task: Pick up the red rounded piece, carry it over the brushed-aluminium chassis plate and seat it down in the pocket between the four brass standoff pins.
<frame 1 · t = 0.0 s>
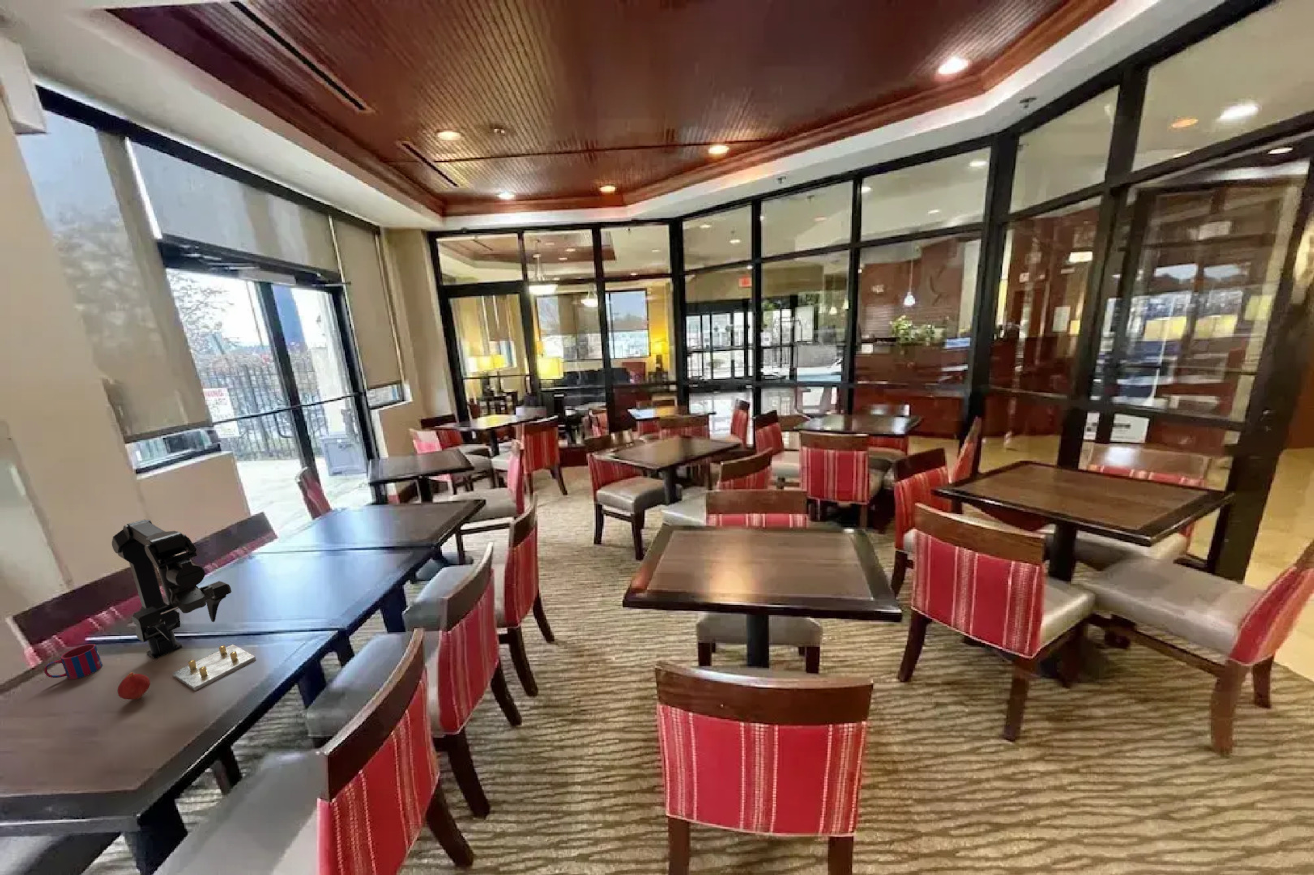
hand: (192, 630, 132), 15 cm above the table, fingers open, 9 cm apart
chassis: (215, 667, 139), on the table
mug: (77, 675, 139), on the table
red rounded piece: (138, 699, 128), on the table
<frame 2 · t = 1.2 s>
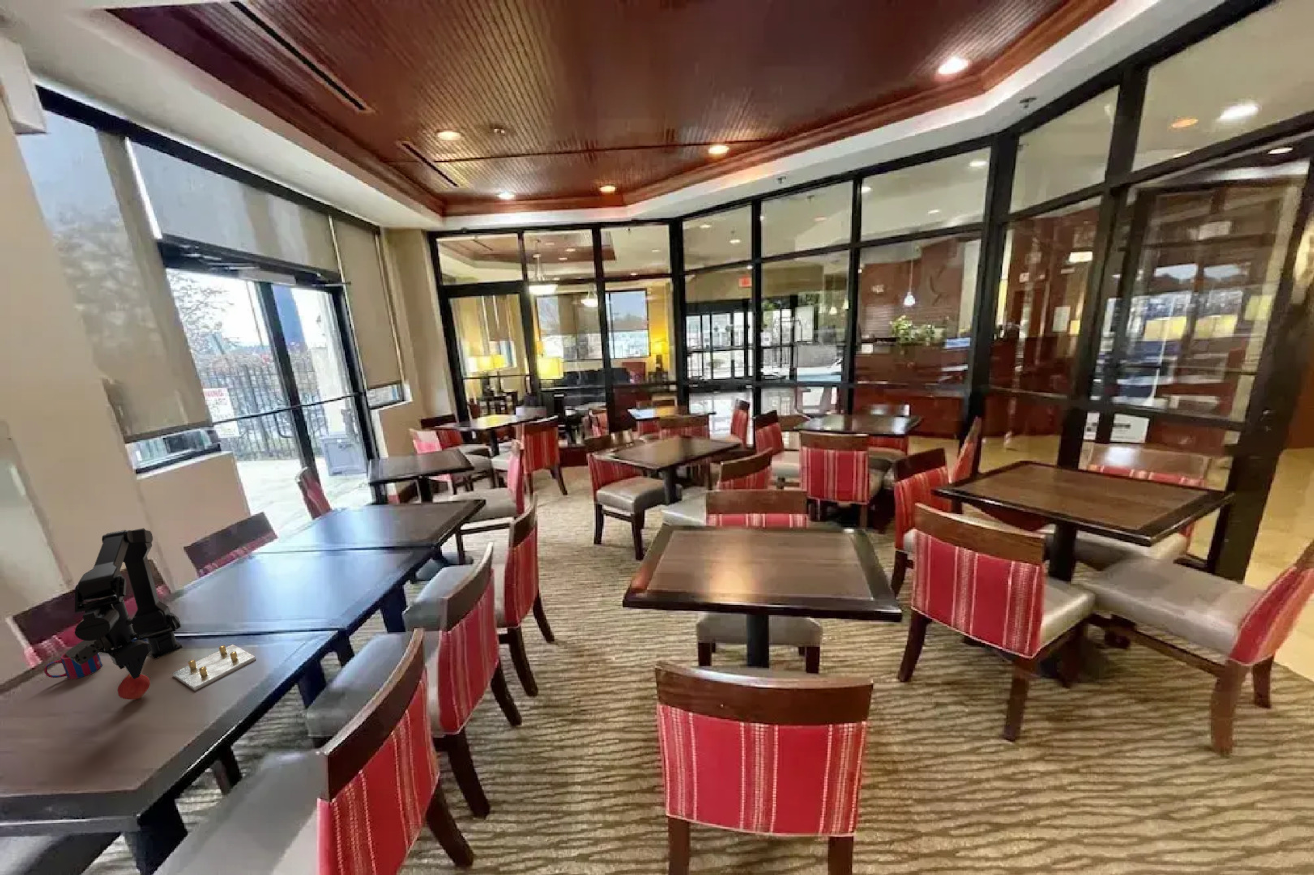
hand: (129, 672, 126), 8 cm above the table, fingers open, 9 cm apart
nothing on the table moved.
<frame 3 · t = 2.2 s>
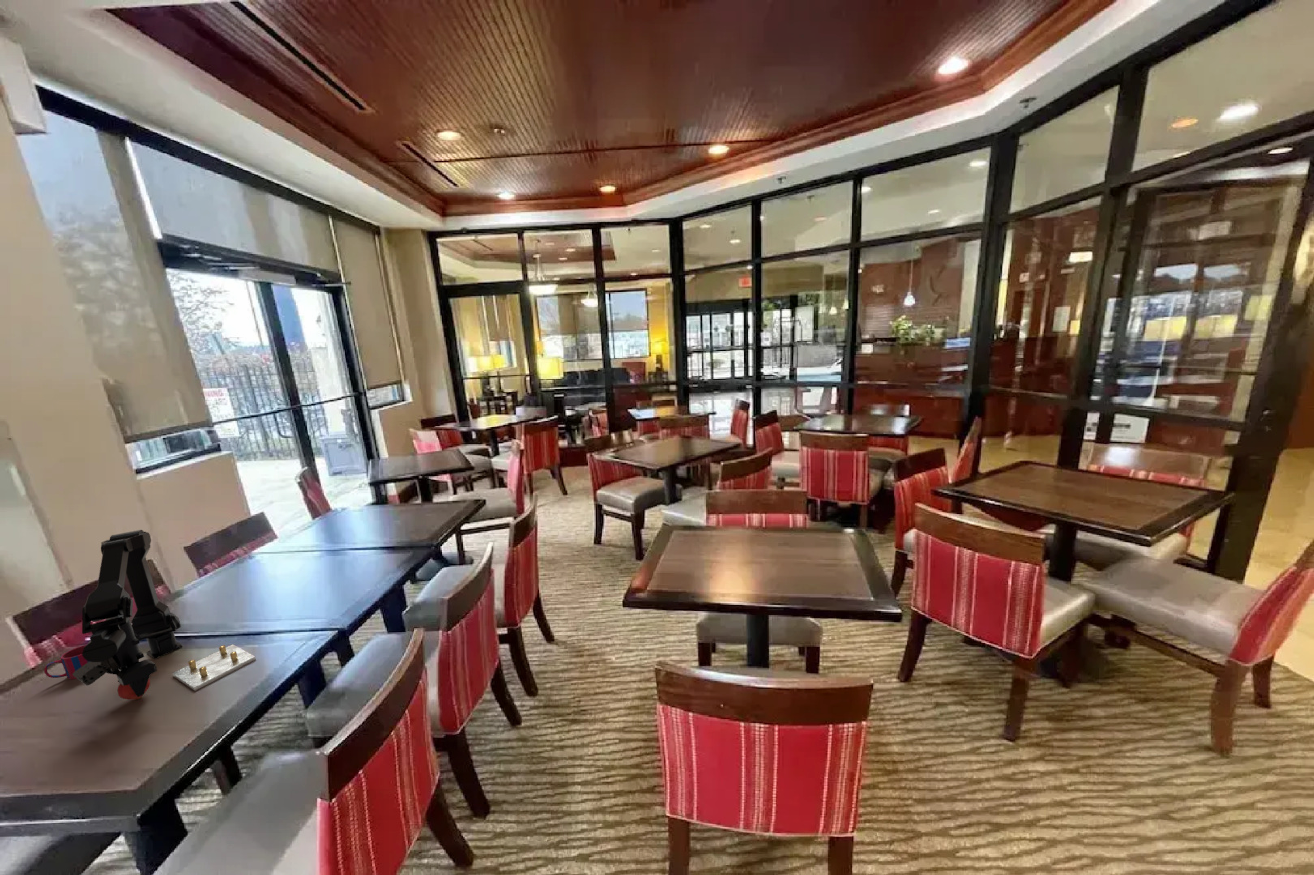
hand: (135, 692, 127), 2 cm above the table, fingers closed on red rounded piece, 6 cm apart
red rounded piece: (138, 699, 128), on the table, touching gripper
everything else where it was.
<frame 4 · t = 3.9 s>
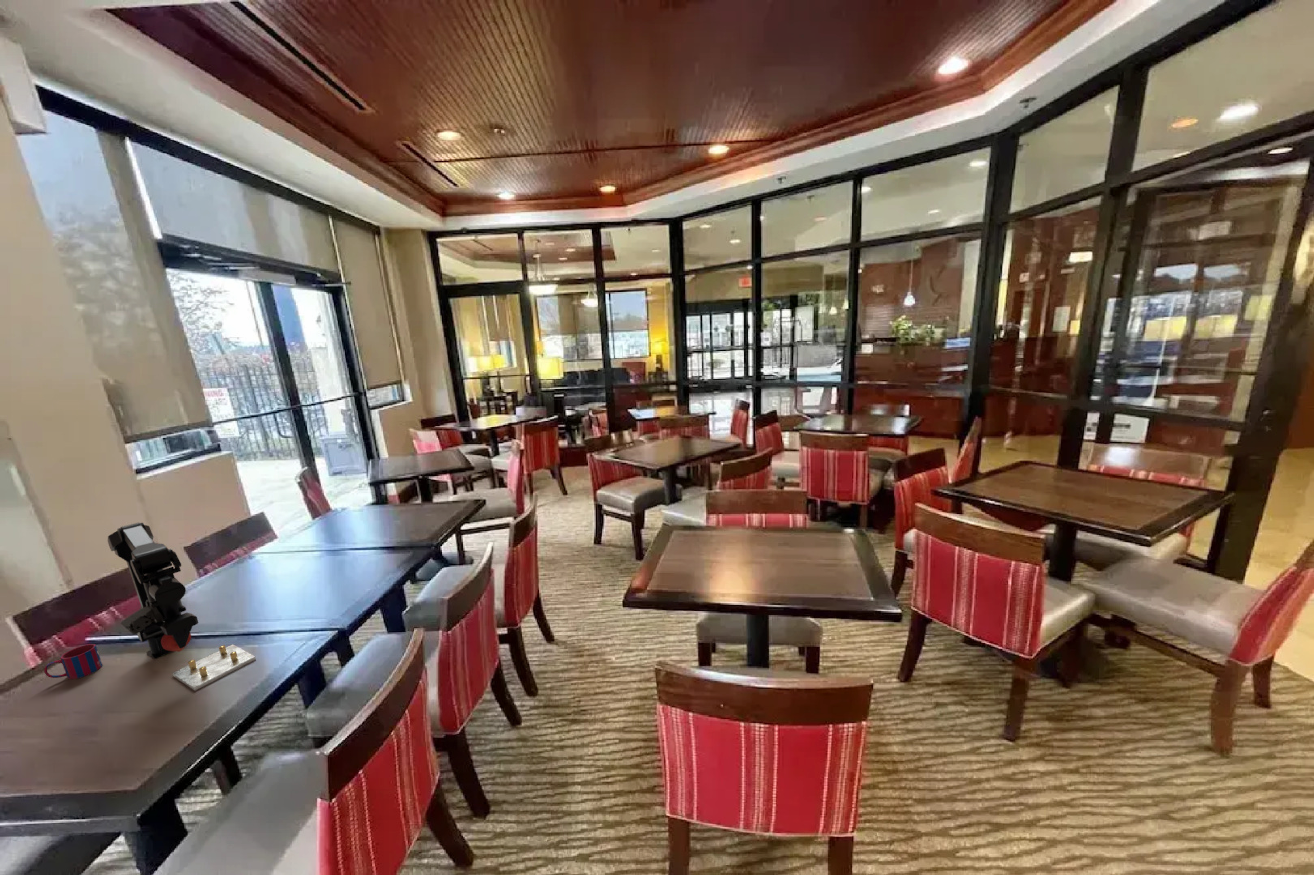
hand: (178, 644, 132), 11 cm above the table, fingers closed on red rounded piece, 6 cm apart
red rounded piece: (180, 651, 133), point 9 cm above the table, touching gripper
everything else where it was.
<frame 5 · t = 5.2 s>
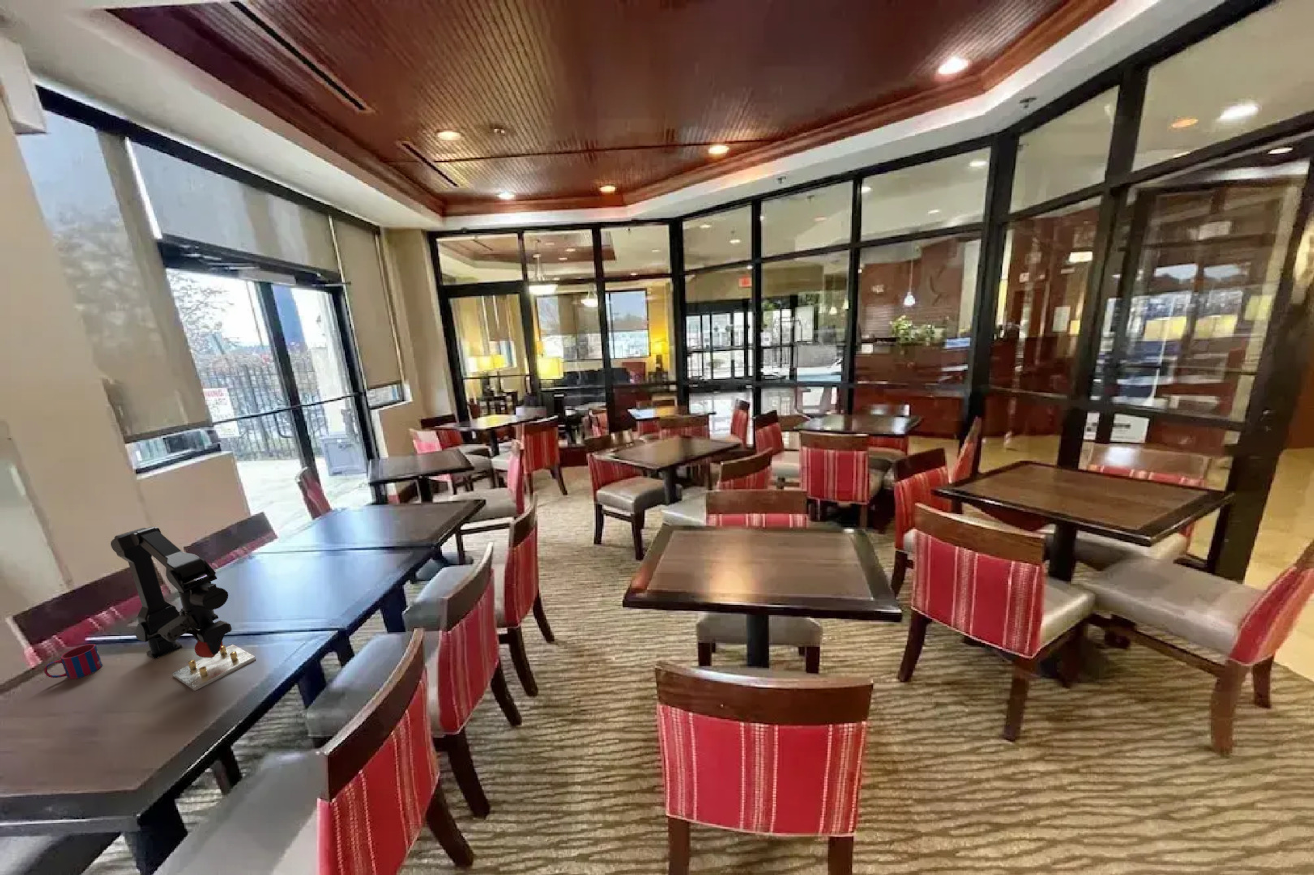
hand: (210, 651, 138), 5 cm above the table, fingers closed on red rounded piece, 6 cm apart
red rounded piece: (212, 658, 138), point 3 cm above the table, touching gripper
everything else where it was.
when the fingers open (4 cm above the table, at t = 5.9 s): red rounded piece drops 1 cm, resting on chassis.
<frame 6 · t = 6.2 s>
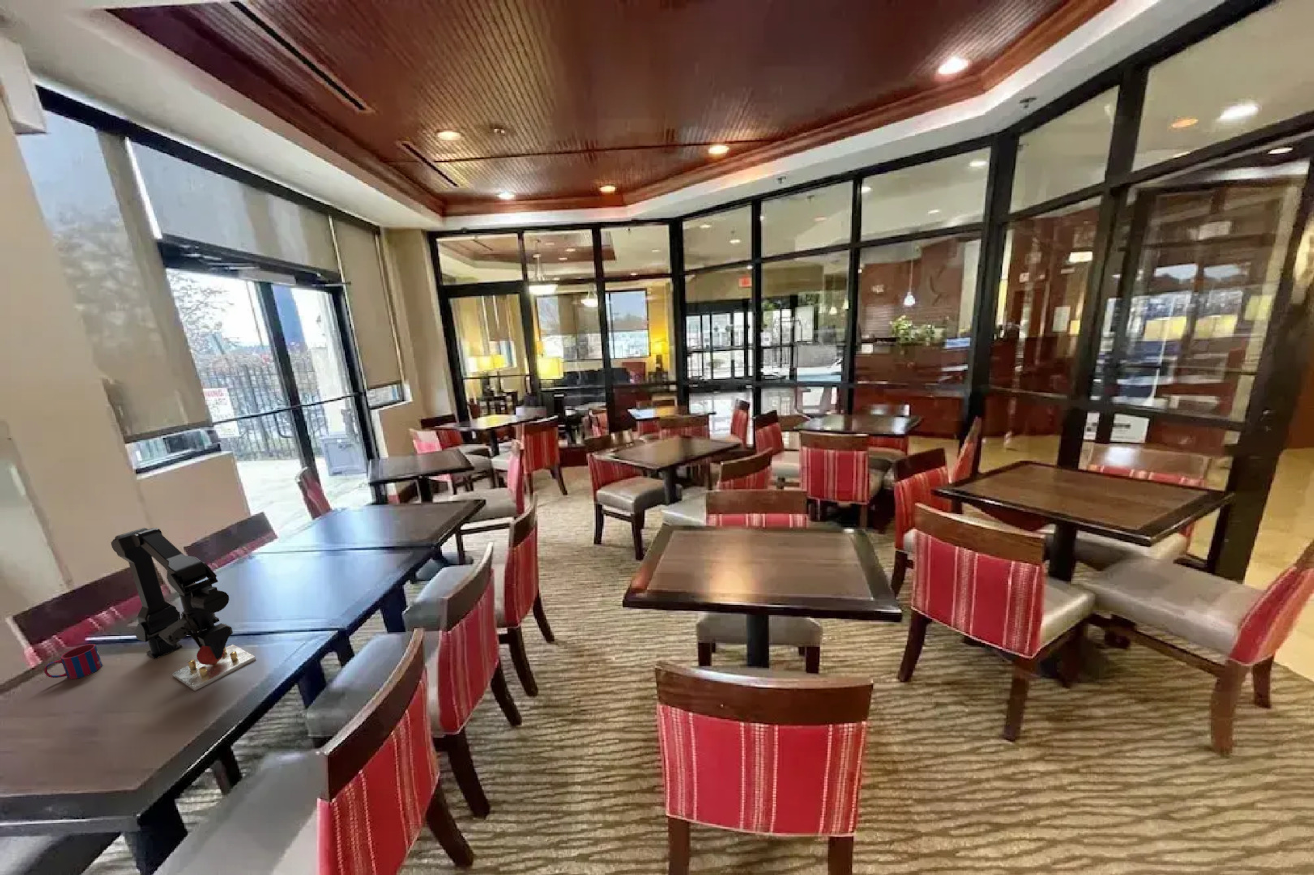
hand: (211, 654, 138), 4 cm above the table, fingers open, 9 cm apart
red rounded piece: (214, 665, 138), point 1 cm above the table, touching chassis
everything else where it was.
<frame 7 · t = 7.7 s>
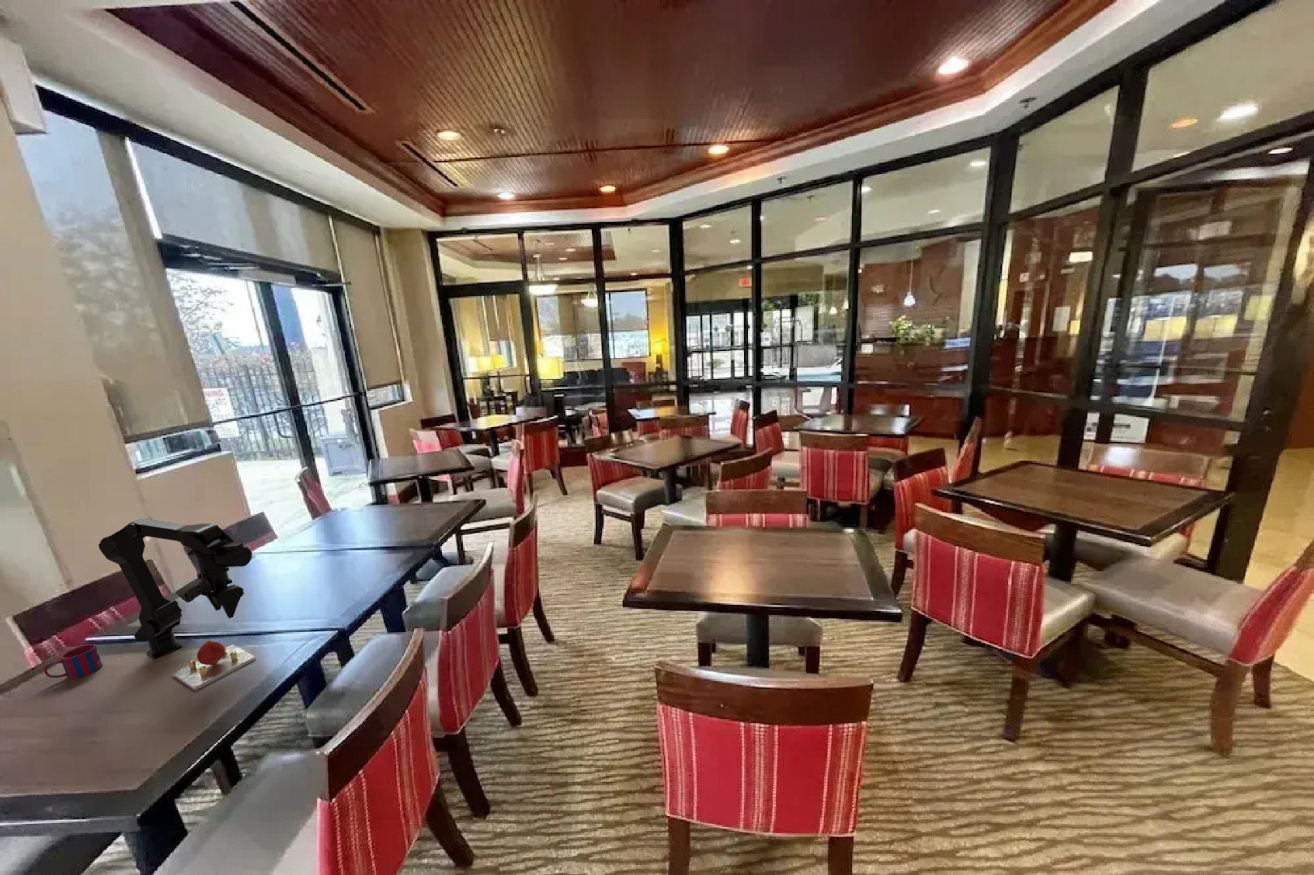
hand: (224, 613, 145), 12 cm above the table, fingers open, 9 cm apart
nothing on the table moved.
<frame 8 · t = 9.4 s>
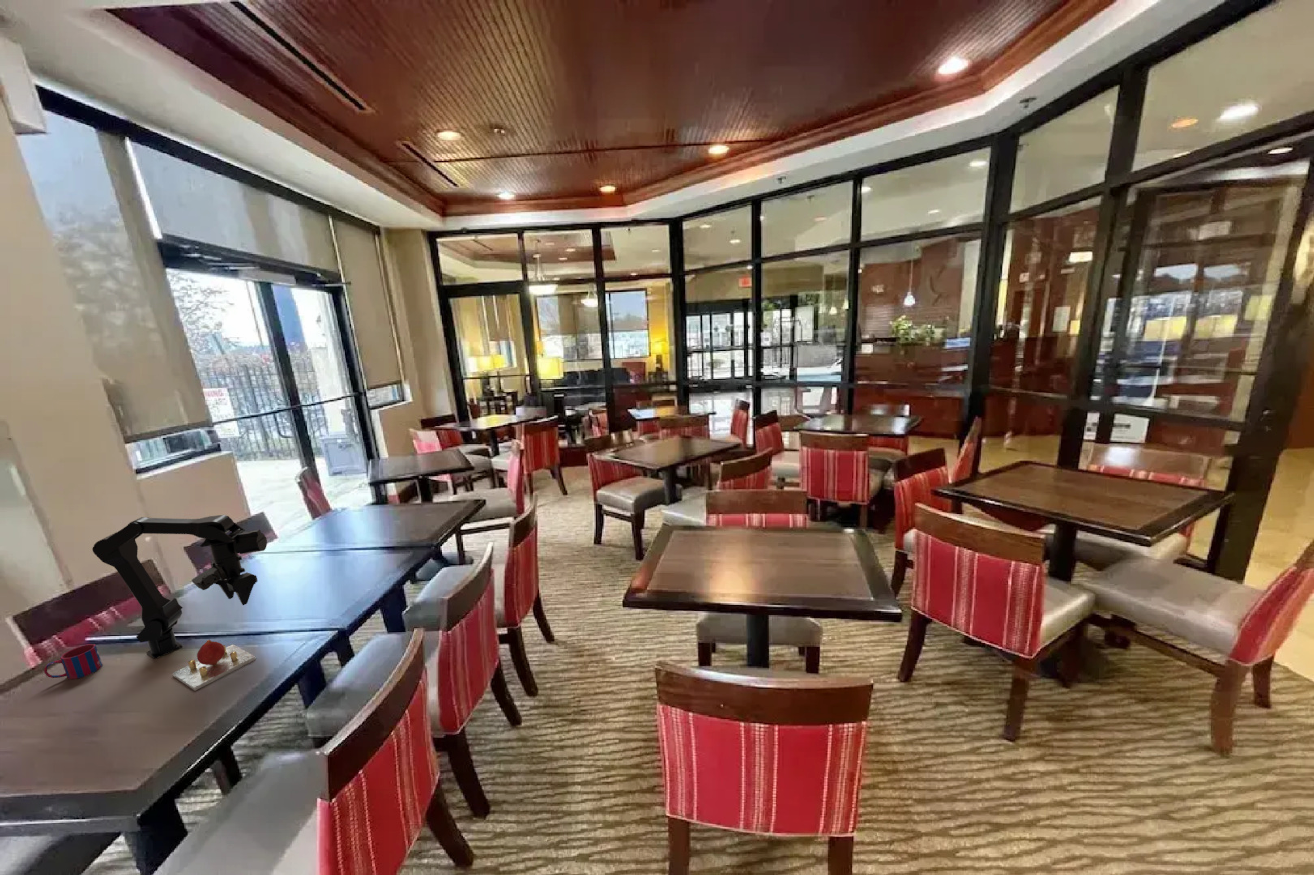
hand: (237, 601, 151), 12 cm above the table, fingers open, 9 cm apart
nothing on the table moved.
at the end: red rounded piece 0.1 cm off-centre on the chassis, point 0.8 cm above the chassis's base; the gripper is holding nothing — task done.
